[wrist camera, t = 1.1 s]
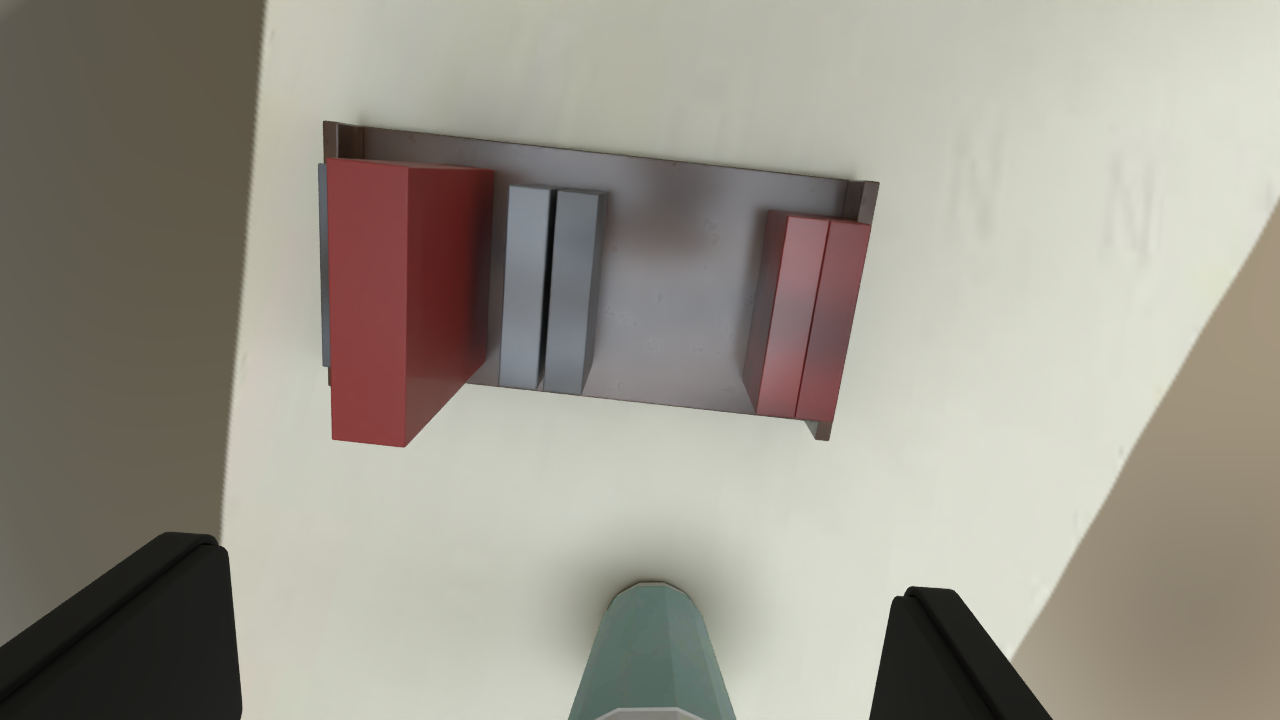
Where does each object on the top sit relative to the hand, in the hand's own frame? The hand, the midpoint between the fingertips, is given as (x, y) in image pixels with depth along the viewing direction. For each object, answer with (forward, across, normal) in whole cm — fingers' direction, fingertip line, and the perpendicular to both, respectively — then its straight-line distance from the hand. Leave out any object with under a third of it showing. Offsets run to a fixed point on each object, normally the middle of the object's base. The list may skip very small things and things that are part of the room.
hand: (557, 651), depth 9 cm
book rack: (+31, +2, -1) cm, 31 cm away
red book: (+30, +10, -1) cm, 31 cm away
